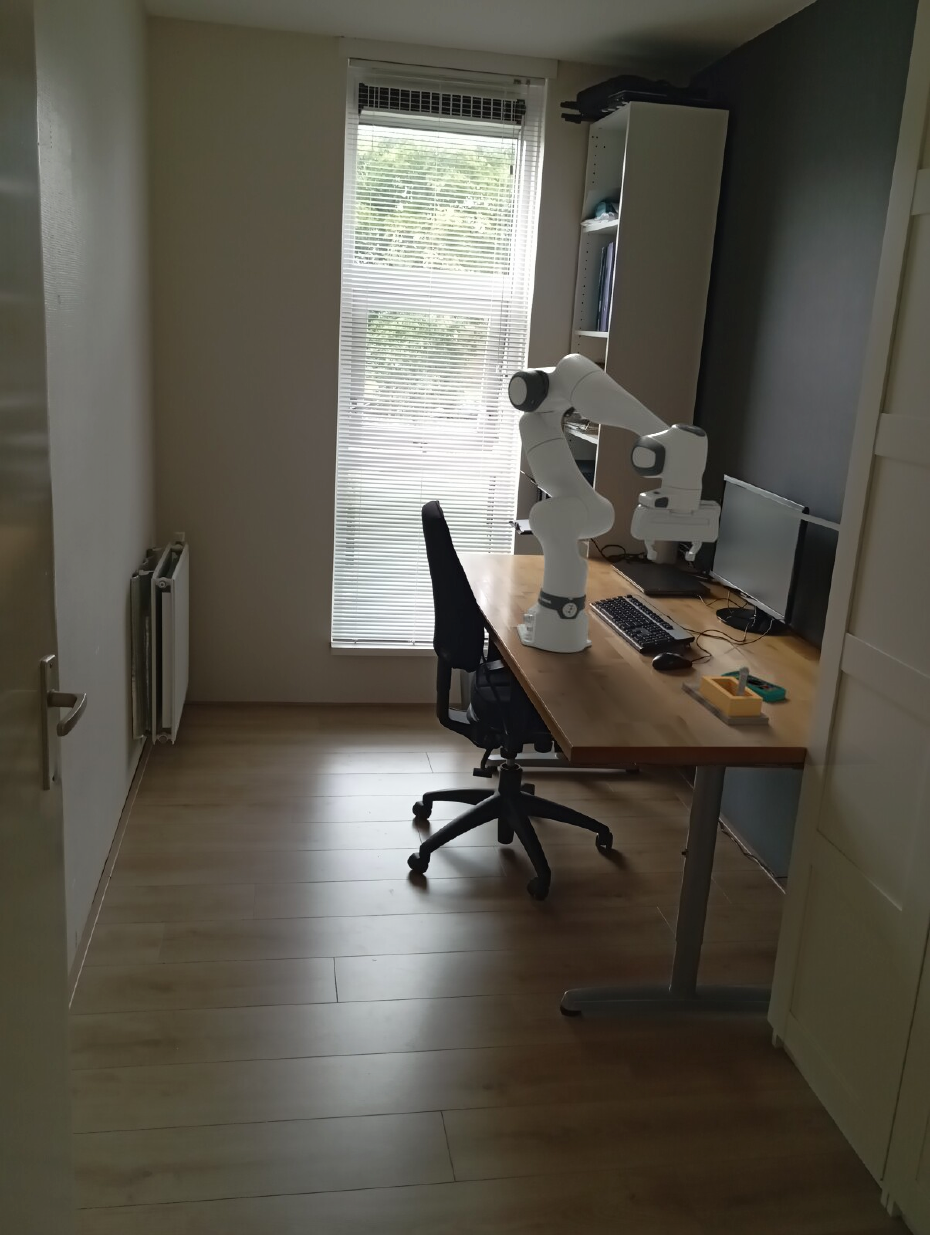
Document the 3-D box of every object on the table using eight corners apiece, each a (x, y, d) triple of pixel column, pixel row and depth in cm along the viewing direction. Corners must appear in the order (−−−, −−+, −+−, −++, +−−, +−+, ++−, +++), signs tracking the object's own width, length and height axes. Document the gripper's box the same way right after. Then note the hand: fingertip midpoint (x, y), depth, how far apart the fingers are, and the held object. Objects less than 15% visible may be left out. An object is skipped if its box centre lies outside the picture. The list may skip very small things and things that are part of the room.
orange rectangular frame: (699, 692, 234) (701, 676, 233) (729, 692, 236) (732, 676, 235) (728, 715, 222) (731, 698, 220) (759, 715, 224) (763, 698, 222)
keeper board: (681, 688, 241) (689, 641, 237) (719, 688, 243) (727, 642, 240) (727, 724, 220) (736, 674, 217) (768, 724, 223) (777, 674, 220)
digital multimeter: (768, 704, 237) (770, 693, 236) (717, 683, 248) (719, 672, 247) (787, 700, 241) (789, 688, 240) (737, 679, 252) (739, 668, 251)
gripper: (715, 498, 232) (705, 557, 236) (632, 494, 226) (623, 555, 230) (728, 503, 226) (718, 564, 230) (644, 499, 220) (635, 561, 224)
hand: (670, 559), depth 230 cm, fingers open, 8 cm apart
